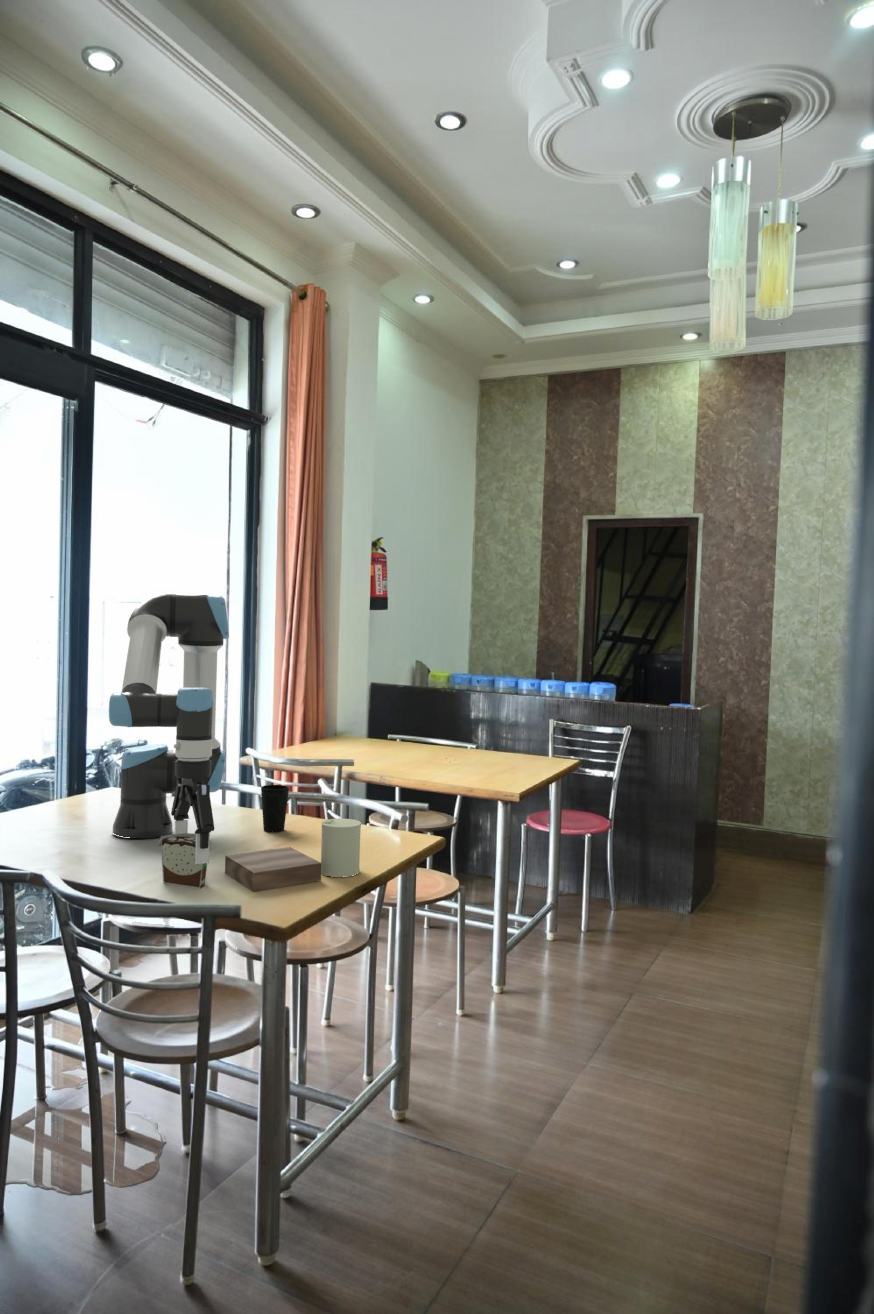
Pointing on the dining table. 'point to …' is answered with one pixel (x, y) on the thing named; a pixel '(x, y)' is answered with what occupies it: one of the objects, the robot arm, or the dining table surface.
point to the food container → (182, 861)
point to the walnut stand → (272, 868)
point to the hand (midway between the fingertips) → (191, 856)
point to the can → (340, 847)
